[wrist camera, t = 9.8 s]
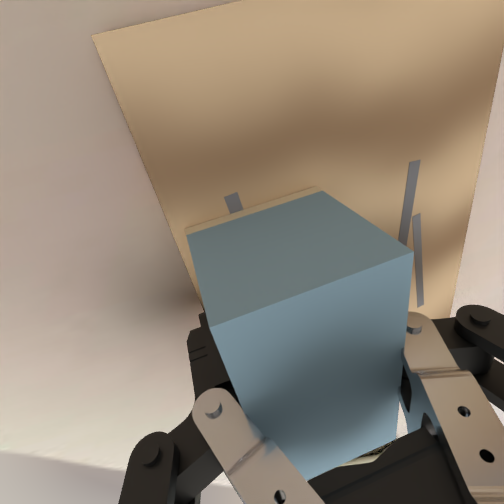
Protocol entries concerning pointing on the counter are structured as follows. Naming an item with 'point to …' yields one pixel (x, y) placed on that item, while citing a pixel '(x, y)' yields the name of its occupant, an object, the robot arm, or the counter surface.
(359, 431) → the block
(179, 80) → the oak board
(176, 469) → the robot arm
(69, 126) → the counter surface
